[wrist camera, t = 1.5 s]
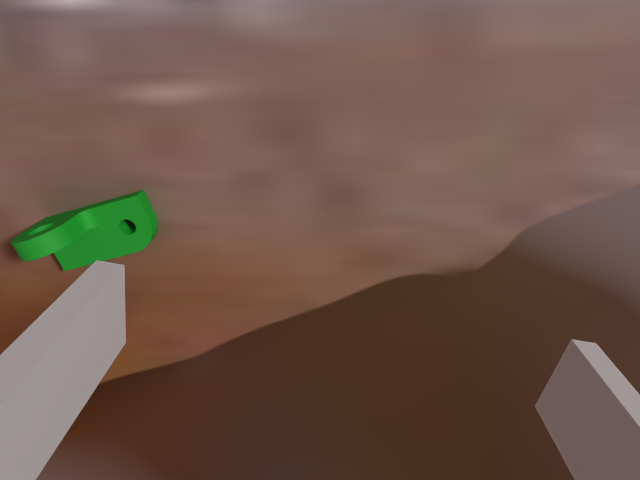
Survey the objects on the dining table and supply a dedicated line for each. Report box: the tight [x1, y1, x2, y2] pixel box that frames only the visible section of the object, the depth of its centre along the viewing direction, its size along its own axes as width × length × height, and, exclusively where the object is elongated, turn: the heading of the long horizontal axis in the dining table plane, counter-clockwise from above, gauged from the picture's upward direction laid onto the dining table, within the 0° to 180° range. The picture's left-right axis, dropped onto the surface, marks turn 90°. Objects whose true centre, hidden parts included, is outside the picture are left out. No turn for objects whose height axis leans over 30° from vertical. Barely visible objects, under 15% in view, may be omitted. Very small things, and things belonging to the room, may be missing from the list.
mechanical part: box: [11, 190, 158, 271], centre depth 45 cm, size 12×6×8 cm, turn 106°
